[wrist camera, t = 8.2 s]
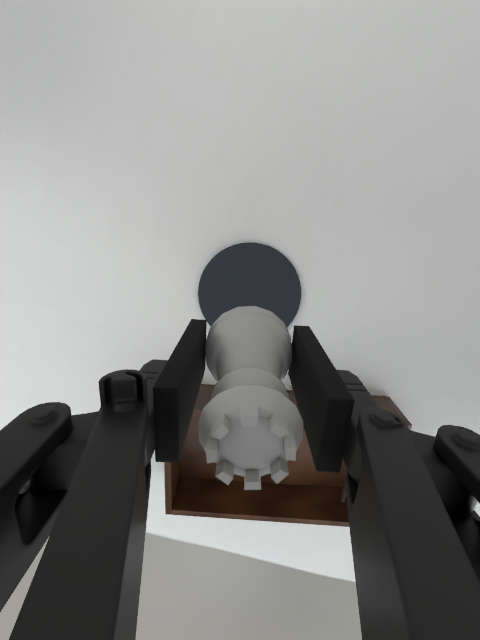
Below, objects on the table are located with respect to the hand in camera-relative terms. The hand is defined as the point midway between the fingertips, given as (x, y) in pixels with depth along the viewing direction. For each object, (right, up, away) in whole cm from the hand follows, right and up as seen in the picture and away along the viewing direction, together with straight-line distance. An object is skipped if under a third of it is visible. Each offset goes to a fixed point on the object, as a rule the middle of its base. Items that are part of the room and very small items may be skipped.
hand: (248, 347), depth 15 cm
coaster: (0, +4, +11) cm, 11 cm away
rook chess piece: (0, 0, +1) cm, 1 cm away
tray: (+3, -11, +16) cm, 20 cm away
